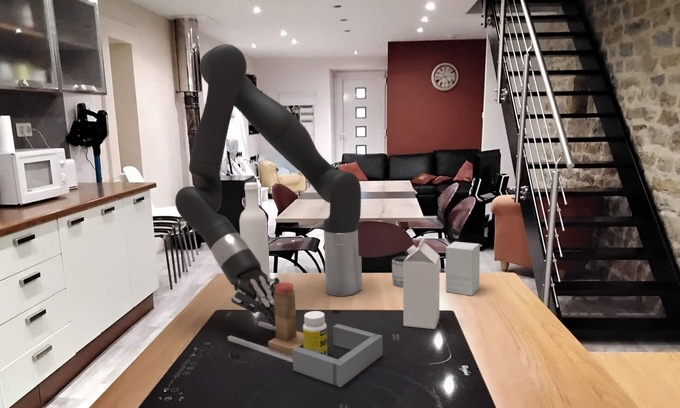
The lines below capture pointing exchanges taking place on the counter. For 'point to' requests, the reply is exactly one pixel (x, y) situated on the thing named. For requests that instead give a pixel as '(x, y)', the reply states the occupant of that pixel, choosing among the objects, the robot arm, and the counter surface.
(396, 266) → the camera lens
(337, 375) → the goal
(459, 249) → the supplement box
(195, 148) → the robot arm
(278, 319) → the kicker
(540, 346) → the counter surface
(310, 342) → the supplement bottle
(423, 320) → the milk carton
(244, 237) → the bottle
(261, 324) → the track
